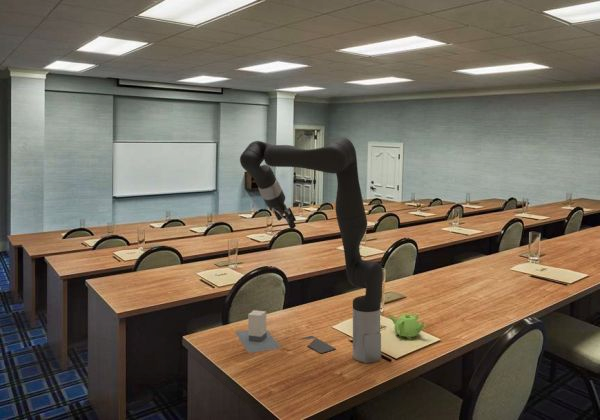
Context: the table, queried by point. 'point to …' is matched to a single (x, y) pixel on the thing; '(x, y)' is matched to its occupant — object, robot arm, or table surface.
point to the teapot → (407, 325)
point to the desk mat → (256, 346)
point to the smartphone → (319, 345)
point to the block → (257, 326)
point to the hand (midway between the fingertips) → (286, 223)
